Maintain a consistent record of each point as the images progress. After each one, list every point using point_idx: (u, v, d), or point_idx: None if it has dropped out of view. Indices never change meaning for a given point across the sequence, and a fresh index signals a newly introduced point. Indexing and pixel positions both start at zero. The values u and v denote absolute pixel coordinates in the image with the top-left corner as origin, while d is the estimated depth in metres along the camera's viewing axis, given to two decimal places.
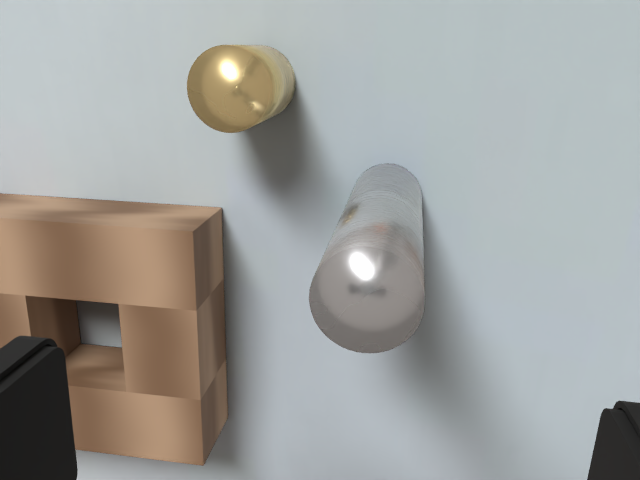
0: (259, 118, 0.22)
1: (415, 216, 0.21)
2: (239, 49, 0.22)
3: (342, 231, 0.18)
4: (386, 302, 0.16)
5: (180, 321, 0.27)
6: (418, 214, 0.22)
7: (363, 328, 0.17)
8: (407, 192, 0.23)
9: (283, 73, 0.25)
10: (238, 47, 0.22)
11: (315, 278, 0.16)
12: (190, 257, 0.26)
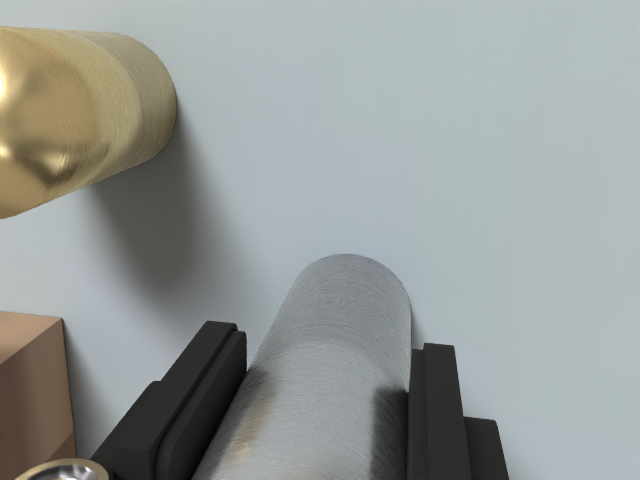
0: (45, 191, 0.10)
1: (390, 445, 0.09)
2: None
3: None
4: None
5: None
6: (399, 419, 0.10)
7: None
8: (377, 349, 0.11)
9: (132, 88, 0.12)
10: None
11: None
12: None
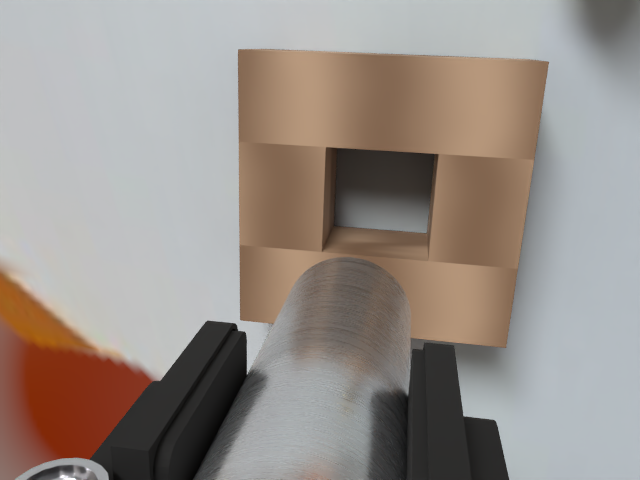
0: None
1: (390, 450, 0.09)
2: None
3: None
4: None
5: (511, 174, 0.24)
6: (399, 424, 0.10)
7: None
8: (377, 353, 0.11)
9: None
10: None
11: None
12: (540, 93, 0.23)
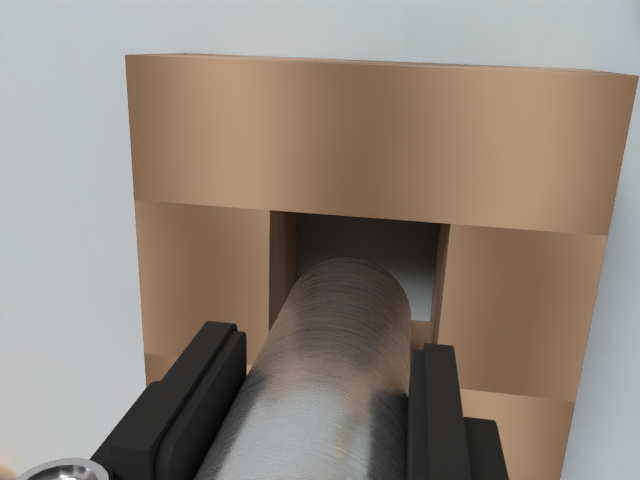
0: None
1: (389, 450, 0.09)
2: None
3: None
4: None
5: (569, 257, 0.15)
6: (398, 424, 0.10)
7: None
8: (377, 353, 0.11)
9: None
10: None
11: None
12: (621, 129, 0.13)
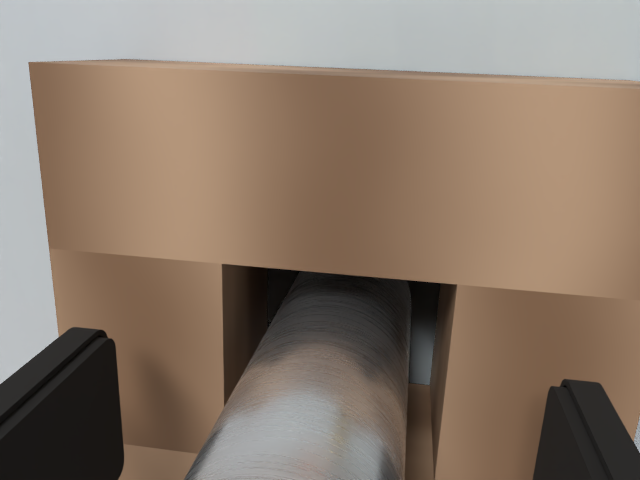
0: None
1: (388, 412, 0.09)
2: None
3: None
4: None
5: (614, 329, 0.11)
6: (397, 392, 0.10)
7: None
8: (377, 329, 0.12)
9: None
10: None
11: None
12: None
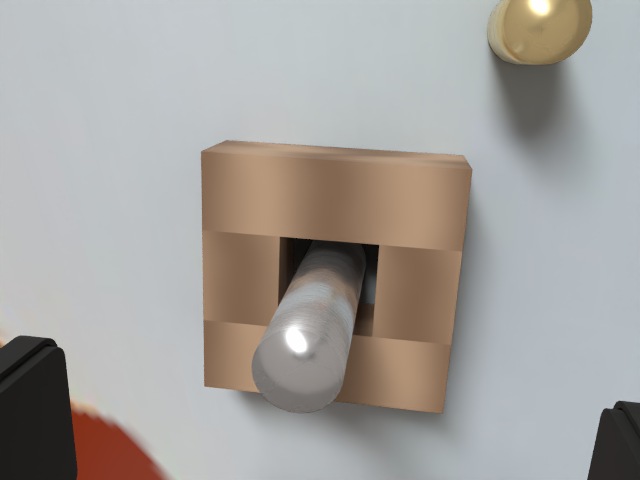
0: (575, 50, 0.23)
1: (349, 289, 0.25)
2: None
3: (283, 309, 0.22)
4: (313, 373, 0.20)
5: (443, 263, 0.27)
6: (354, 286, 0.26)
7: (295, 393, 0.21)
8: (347, 264, 0.27)
9: None
10: None
11: (256, 352, 0.20)
12: (465, 195, 0.26)
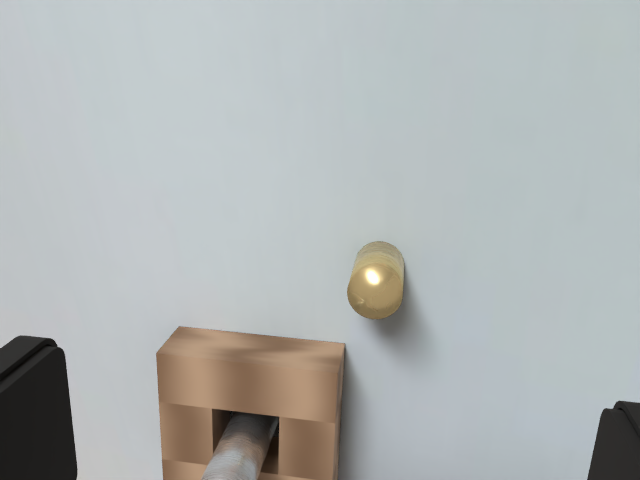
0: (394, 311, 0.35)
1: (254, 455, 0.37)
2: (384, 271, 0.34)
3: None
4: None
5: (323, 430, 0.39)
6: (260, 449, 0.38)
7: None
8: (258, 428, 0.39)
9: (402, 270, 0.37)
10: (383, 269, 0.34)
11: None
12: (334, 389, 0.38)
